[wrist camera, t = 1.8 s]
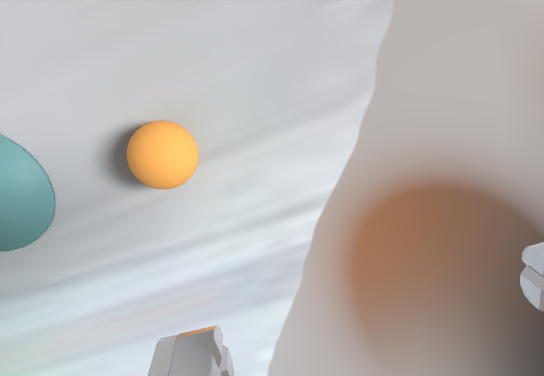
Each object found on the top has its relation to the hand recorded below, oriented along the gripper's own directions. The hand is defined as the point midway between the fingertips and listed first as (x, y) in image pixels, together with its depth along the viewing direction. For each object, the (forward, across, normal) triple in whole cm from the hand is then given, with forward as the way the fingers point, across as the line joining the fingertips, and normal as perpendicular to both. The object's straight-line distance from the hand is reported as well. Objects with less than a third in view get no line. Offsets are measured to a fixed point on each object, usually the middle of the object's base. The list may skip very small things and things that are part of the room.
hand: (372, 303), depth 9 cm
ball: (+20, +10, 0) cm, 22 cm away
